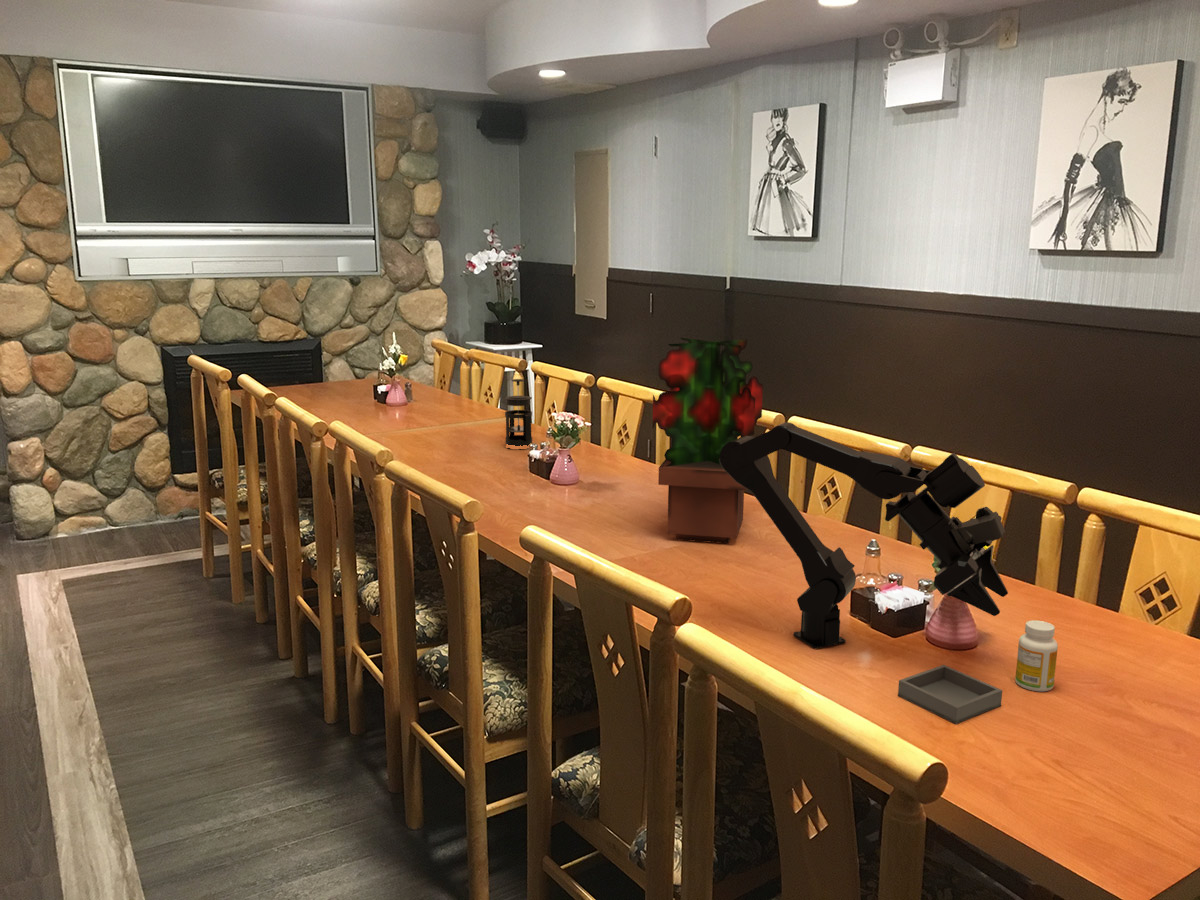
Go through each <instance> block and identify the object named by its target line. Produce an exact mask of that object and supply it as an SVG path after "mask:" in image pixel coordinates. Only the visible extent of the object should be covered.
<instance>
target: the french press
mask: <svg viewBox="0 0 1200 900" xmlns="http://www.w3.org/2000/svg"><path fill="white" fill-rule="evenodd" d="M511 381H512V382H515V383H516V386H517V395H511V396H510V395H509V396H506V397H504V400H505V405H506V406H510V407H512V406H513V407H517V409H511V410H506V411H505V412H504V417H505V433H506V434H505V445H506V444H508V445H515V446H520V445H521V446H523V445H527V446H528V445H529V444H530V443H532V444H533V436H532V417H533V412H532V410H526V409H520V407H523V406H525V407H526V406H530V405H531V400H532V398H533V397H532V396H528V395H520V393H519V391H520V390H519V387H520V383H521V382H525V380H524V379H520V378H517V379H516V378H514V379H512V380H511ZM515 419H517V426H515ZM520 419H522V421H523V422H522V425H521V424H520ZM515 433H522V434H515Z"/></svg>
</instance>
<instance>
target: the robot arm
mask: <svg viewBox="0 0 1200 900" xmlns="http://www.w3.org/2000/svg"><path fill="white" fill-rule="evenodd" d="M780 450H784V451H786V452H789V453H791V454H794V455H796V456H798V457H801V458H804V459H806V460H809V461H811V462H813V463H816V464H818V465H820V466H824V467H826V468H829V469H830V470H834V471H836V472H838V473H841V474H843V475H845V476H847V477H849V478H850V479H852V480H853V481H854V482H855V483H856V484H857V485H859V486H860V487H861V488H862V489H864V490H866V491H868V493H871V494H873V496H875V497H877V498H879V499H882V500H889V501H888V502H887V503H886V504H885V510H886V511H885V516H884V520H885V521H886V522H890V521H892V519H894V518H895V517H896V516H899V517H900V518H901V520H902V521H903V522H904V523H905V524H906V526H908V527H909V529H910V530H911V531H912V532H913V534H914V535H915V536H917V538H918V539H919V540H920V544H919V547H920V548H922V550H924V551H925V549H928V550H929V552H930V553H931V554H932V555H933V556H934V557H935V559H936V560H937V561H938V563H937V567H938V568H939V570H938V571H937V573H936V575H935V576H934V579H933V580H934V581H933V587H934V588H936V590H937V591H938V592H939V593H940V594H941V596H943V595H947V597H948V598H949V597H952V598H955V599H957V600H959V601H962V602H963V603H965V604H968V605H970V606H973V607H974V608H977V609H979V610H981V611H982V612H985V613H987V614H989V615H991V616H992V617H996V616H998V615H999V614H1000V613H1001V610H1000V608H999V607H998V606H997V603H996V601H994V599H993V598H992V596H991V595H990V593H989V591H988V590H987V589H989V590H990V591H992V592H993V593H995V594H997V595H998V596H1000V597H1002V598H1004V597H1006V596H1007V595H1008V594H1009V591H1008V589H1007V587H1006V585H1005V583H1004V581H1003V580H1002V578H1001V575H1000V574H999V572H998V570H997V568H996V566H995V564H994V562H993V553H994V544H992V543H993V542H994V541H997V540H1000V539H1002V538H1003V537H1004V534H1005V533H1006V530H1005V527H1004V526H1003V523H1002V519H1003V518H1002V516H1001V515H999V513H998V512H997V511H994V512H993V510H991V509H990V508H989V507H988V506H983V507H980V508H978V509H977V510H976V512H975V518H973V517H972V518H970V519H969V520H966V521H963V522H962V521H961V520H960V518H959V517H958V516H955V515H954V516H953V515H952V517H950V516H949V515H948V513H947V512H946V511H945V510H944V508H948V507H950V508H951V509H956V508H958V507H959V506H960V505H961V504H962V503H964V502H965V501H966V500H968V499H970V498H971V497H972V496H974V494H976V493H977V492H979V491H980V490H981V489H982V488H984V487H985V485H986V484H985V481H984V479H983V478H982V476H981V475H980V473H979V471H977V469H976V468H975V467H974V466H973V465H972V464H969V462H967V461H966V460H965V459H963V458H961V457H959V456H958V455H957V454H956V453H955V452H952V453H950V454H949V455H948V456H947V457H946V458H945V459H944V460H943V462H941V463H940V464H938V466H936V467H935V468H934V469H932V470H929V469H925V468H921V467H916V466H912V465H910V464H909V462H907V461H906V460H905V459H903V458H902V457H897V456H893V455H887V454H882V453H877V452H876V453H875V452H867V451H861V450H857V449H855V448H852V447H849V446H848V445H845V444H842V443H839V442H837V441H834V440H831V439H829V438H827V437H825V436H821V435H819V434H817V433H815V432H814V433H813V432H811V431H808V430H806V429H804V428H801V427H799V426H797V425H796V424H794V423H792V422H788V421H786V422H782V423H780V424H778V425H776V426H774V427H772V429H770V430H769V431H766V432H764V433H762V434H760V435H757V436H752V435H751V436H742V437H741V436H739V437H738V438H737V439H736V440H733V441H731V442H729V443H727V444H725V445H724V447H723V448H722V450H721V452H720V458H719V461H720V464H721V466H722V468H723V469H724V470H725V471H726V472H727V473H728V474H729V475H730V476H731V477H732V478H733V479H734V480H735V481H736V482H737V483H739V484H740V485H742V486H743V487H745V488H746V489H747V490H748V491H750V492H751V494H752V495H753V496H754V497H755V499H756V500H757V502H758V503H759V504H760V506H761V507H762V508H763V510H764V512H765V513H766V514H767V515H768V517H769V518H770V520H771V521H772V523H773V524H774V526H775V527H776V528H777V530H778V531H779V532H780V534H781V535H782V537H783V538H784V539H785V541H786V542H787V544H788V545H789V546H790V548H791V550H793V552H794V554H795V555H796V556H797V558H798V559H799V561H800V563H801V567H802V571H803V574H804V578H805V581H806V583H807V585H808V586H809V587H808V588H807V589H805V591H804V592H803V593H801V594H800V595H799V596H798V598H796V602H797V605H798V608H799V610H800V611H801V619H800V620H801V622H800V623H801V624H800V630H799V631H794V632H793V634H792V635H793V637H795V638H797V640H800V641H802V642H803V643H805V644H806V645H808V646H809V647H811V648H813V649H822V648H823V649H824V648H827V647H832V646H837V645H842V644H843V645H844V644H846V639H845V638H843V637H842V636H840V629H841V619H840V615H841V609H840V608H839V605H838V604H840V603H842V601H844V600H845V598H846V597H847V596H848V595H849V593H850V592H852V590H853V589H854V587H855V585H856V580H857V575H856V573H855V570H854V568H855V564H854V563H852V562H851V561H850V560H849V559H848V558H847V556H846V554H845V552H844V550H843V548H841V547H839V546H838V547H837V548H836V549H835V550H834V551H833V550H832V549H831V548H829V547H827V545H825V544H823V542H822V541H821V539H820V538H819V537H818V535H817V534H816V533H815V531H814V529H812V526H810V524H809V523H808V522H807V520H806V519H805V517H804V516H803V514H802V513H801V512H800V510H799V509H798V508H797V506H796V505H795V504H794V502H793V501H792V499H791V498H790V497H789V495H788V494H787V493H786V492H785V489H784V488H783V487H782V486H781V484H780V483H779V481H778V480H777V478H776V477H775V475H774V472H773V467H772V464H771V459H770V457H769V455H771V454H773V453H775V452H777V451H780ZM923 485H925V486H926V487H925V488H924V489H922V490H921V491H919V492H917V494H915V493H914V492H916V491H917V490H919V489H920V488H921V487H922V486H923ZM905 493H906V494H905ZM901 494H905V495H903V496H902V497H901V498H899V499H898V500H897V501H892V499H894V498H895V499H896V498H897V497H899V496H900V495H901ZM985 547H987V548H986V549H985ZM986 588H987V589H986Z"/></svg>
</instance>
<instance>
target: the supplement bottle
mask: <svg viewBox="0 0 1200 900" xmlns="http://www.w3.org/2000/svg"><path fill="white" fill-rule="evenodd" d="M1055 629H1056V628H1055V625H1053V624H1052V623H1049V622H1048V621H1047V622H1046V621H1042V620H1037V619H1036V620H1033V619H1032V620H1028V621H1026V622H1025V626H1024V632H1025V633H1024V634H1022V635H1021V636H1020V637H1019V639H1018V646H1017V647H1018V650H1017V657H1016V667H1015V668H1016V669H1015V675H1014V676H1015V679H1014V680H1015V683H1016V684H1017V685H1018V686H1020V687H1022V689H1026V690H1030V691H1034V692H1040V693H1041V692H1049V691H1051V690H1052V689H1053V688H1054V685H1055V676H1056V675H1055V674H1056V666H1057V660H1058V659H1057V657H1058V647H1059V646H1058V645H1059V644H1058V642H1057V640H1056V639H1054V636H1055Z"/></svg>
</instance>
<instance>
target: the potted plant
mask: <svg viewBox="0 0 1200 900" xmlns="http://www.w3.org/2000/svg"><path fill="white" fill-rule="evenodd" d="M680 339H681V340H682V341H687V342H683V343H668V344H667V345H668V346H670V347H678V349H671V350H669V351H668V352H667V353H666V357H665V358H662V359H661V360H660V361H659V363H658V377H659V379H660V380H661V381H664V382H665V384H666V387H668V388H669V391H663V392H661V393H660V394H659V395H658V399H656V398H655V397H656V396H655V395H654V394H652V429H654V428H655V425H656V424H657V427H658V428H659V429H660V430H663V431H664V433H665V436H666V437H669V438H671V447H669V448H668V449H666V450H665V452H664V455H663V456H664V458H665V459H664V461H662V463H661V464H660V465H659V466H658V485H659V486H668V490H667V491H668V492H667V498H668V500H667V534H673V535H677V536H676V537H677V539H683V540H682V541H690V540H695V541H694V542H703V541H710V542H709V543H717V542H721V543H720V544H730V541H731V539H737V538H738V535H739V533H740V529H741V527H742V524H743V520H744V505H745V501H744V500H745V491H747V490H748V489H746V488H745V487H743V486H742V485H740V484H739V483H737V482H736V481H735V480H734V479H733V478H732V477H731V476H730V475H729V474H728V473H727V472H726V471H725V470H724V469H723V468H722V466H721V464H720V461H719V458H720V452H721V450H722V448H723V447H724V445H725V444H727V443H729V442H731V441H733V440H736V439H738V438H740V437H742V436H751V437H752V436H754V435H755V426H756V425H757V422H758V420H759V419H762V417H763V395H764V394H763V393H764V390H763V389H764V384H763V383H760V382H759V379H758V377H757V376H755V375H754V376H750V378H749V380H748V383H747V375H748V374H750V373H751V372H752V370H753V368H754V367H753V363H752V362H751V361H749V360H742V361H741V359H740V356H739V355H740V354H741V352H742V351H743V350H745V349H746V348H747V345H748V339H735V340H734V339H733V340H721V341H720V340H718V341H717V340H716V341H709V340H704V339H703V340H702V339H694V338H688V337H687V338H686V337H680ZM721 346H723V347H724V349H722V350H721Z"/></svg>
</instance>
